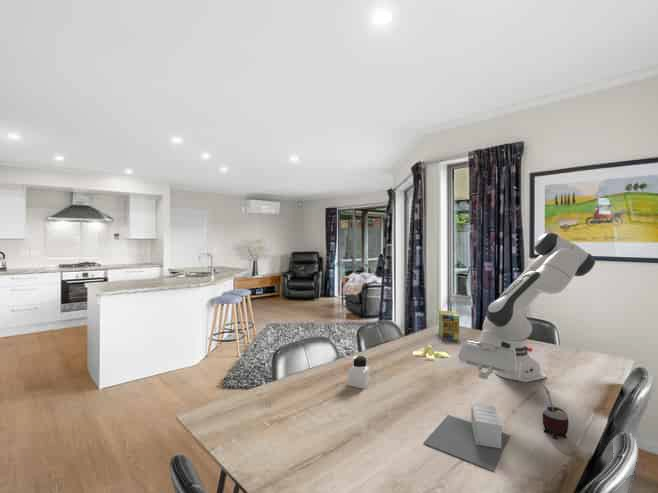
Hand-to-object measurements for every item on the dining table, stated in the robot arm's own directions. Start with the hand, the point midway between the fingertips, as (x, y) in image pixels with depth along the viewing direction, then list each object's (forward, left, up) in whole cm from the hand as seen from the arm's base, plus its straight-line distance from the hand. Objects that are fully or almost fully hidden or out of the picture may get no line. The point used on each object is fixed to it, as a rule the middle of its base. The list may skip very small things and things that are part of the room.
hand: (482, 377), depth 125 cm
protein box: (-42, -93, -13) cm, 102 cm away
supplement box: (+6, +9, -8) cm, 14 cm away
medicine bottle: (+38, -31, -13) cm, 51 cm away
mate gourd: (-14, +17, -13) cm, 26 cm away
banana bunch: (-11, -62, -13) cm, 64 cm away
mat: (+16, +15, -12) cm, 25 cm away
